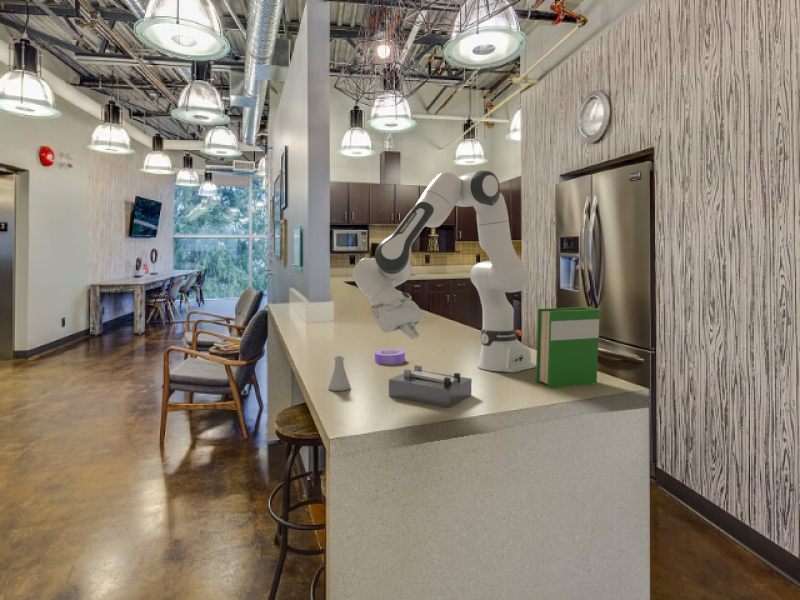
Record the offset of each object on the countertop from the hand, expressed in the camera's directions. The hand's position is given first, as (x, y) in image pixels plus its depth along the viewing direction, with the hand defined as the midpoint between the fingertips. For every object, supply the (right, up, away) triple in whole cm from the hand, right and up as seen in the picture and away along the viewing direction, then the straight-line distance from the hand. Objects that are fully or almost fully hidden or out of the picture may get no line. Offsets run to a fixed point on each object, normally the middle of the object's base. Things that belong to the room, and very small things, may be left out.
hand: (415, 337), depth 142 cm
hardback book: (+49, -16, +13) cm, 53 cm away
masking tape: (-9, -13, +44) cm, 47 cm away
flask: (-24, -17, +6) cm, 29 cm away
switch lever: (+5, -12, -2) cm, 13 cm away
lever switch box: (+4, -17, -1) cm, 18 cm away
